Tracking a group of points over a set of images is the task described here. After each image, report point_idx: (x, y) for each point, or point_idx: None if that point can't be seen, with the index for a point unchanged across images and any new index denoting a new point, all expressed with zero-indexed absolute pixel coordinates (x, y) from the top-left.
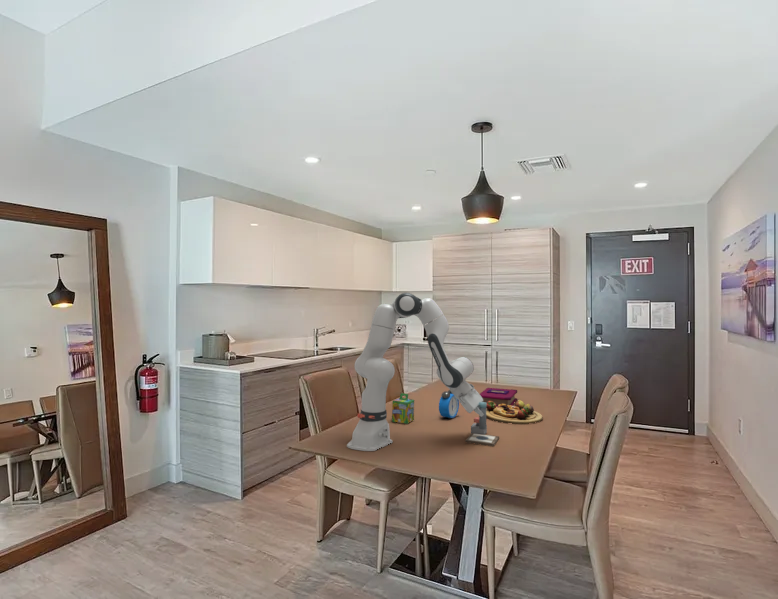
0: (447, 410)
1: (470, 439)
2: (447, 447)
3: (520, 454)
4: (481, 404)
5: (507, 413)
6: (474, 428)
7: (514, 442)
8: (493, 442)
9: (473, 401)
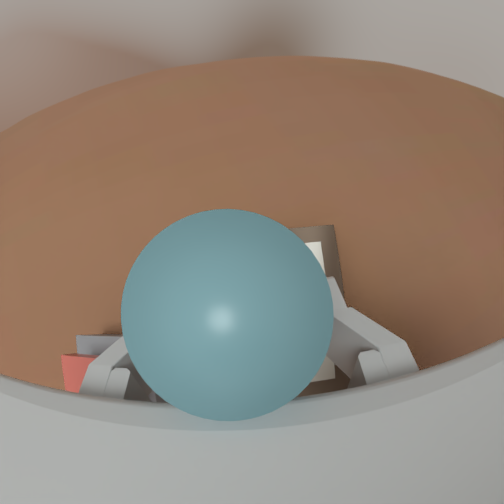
0: None
1: (326, 370)
2: None
3: (359, 112)
4: (329, 320)
5: None
6: (161, 398)
7: (206, 160)
8: (303, 234)
9: (477, 472)
